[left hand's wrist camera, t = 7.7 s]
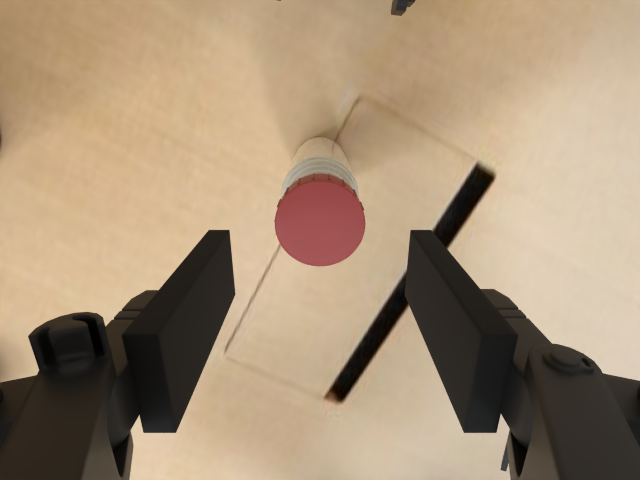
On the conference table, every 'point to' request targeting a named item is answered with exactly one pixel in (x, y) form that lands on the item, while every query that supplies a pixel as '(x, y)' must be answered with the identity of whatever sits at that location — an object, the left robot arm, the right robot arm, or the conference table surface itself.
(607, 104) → the conference table surface
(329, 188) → the cap
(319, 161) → the bottle
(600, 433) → the left robot arm
